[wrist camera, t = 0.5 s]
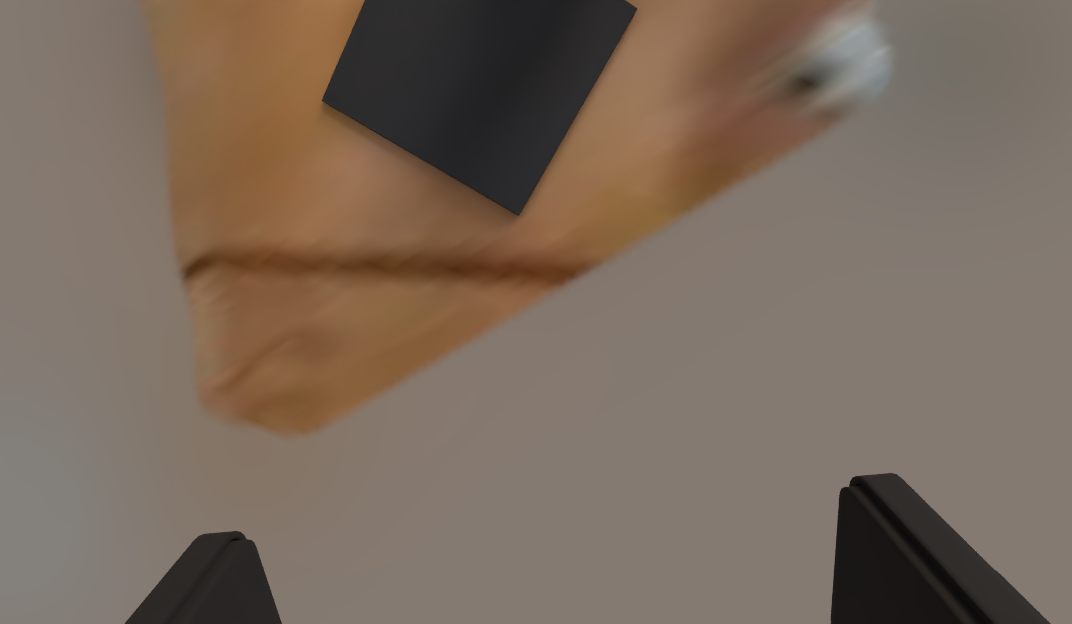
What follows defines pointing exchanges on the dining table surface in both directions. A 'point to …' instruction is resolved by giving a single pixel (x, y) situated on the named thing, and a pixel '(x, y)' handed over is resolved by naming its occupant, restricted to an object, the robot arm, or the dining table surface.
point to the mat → (477, 81)
